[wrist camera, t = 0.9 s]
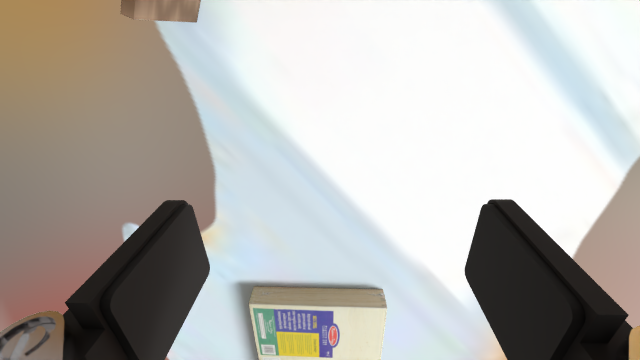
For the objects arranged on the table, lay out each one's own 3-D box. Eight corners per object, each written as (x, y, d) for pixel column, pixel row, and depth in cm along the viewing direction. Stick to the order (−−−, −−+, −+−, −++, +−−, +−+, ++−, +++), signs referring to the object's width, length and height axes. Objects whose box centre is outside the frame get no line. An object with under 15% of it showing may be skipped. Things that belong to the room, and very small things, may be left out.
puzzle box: (271, 388, 69) (371, 394, 68) (267, 411, 65) (373, 417, 64) (254, 281, 53) (386, 285, 51) (247, 302, 48) (391, 308, 47)
